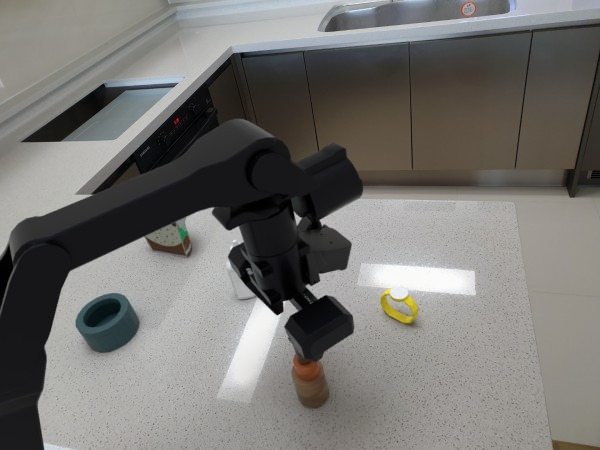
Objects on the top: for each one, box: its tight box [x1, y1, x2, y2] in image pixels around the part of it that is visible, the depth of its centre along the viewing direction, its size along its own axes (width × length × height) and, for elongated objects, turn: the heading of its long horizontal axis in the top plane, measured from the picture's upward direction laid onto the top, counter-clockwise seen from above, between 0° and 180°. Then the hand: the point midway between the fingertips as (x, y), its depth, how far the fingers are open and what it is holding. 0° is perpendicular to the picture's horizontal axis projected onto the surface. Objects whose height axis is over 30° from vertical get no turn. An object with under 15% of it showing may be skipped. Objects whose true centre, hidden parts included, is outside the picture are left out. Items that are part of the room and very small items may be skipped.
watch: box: [379, 285, 419, 325], centre depth 71 cm, size 6×3×6 cm, turn 50°
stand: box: [291, 360, 330, 409], centre depth 63 cm, size 4×4×6 cm
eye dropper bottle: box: [225, 239, 257, 300], centre depth 80 cm, size 4×6×12 cm
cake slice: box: [144, 217, 193, 259], centre depth 95 cm, size 12×6×10 cm, turn 66°
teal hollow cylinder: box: [75, 292, 140, 353], centre depth 80 cm, size 9×9×5 cm
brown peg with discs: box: [292, 345, 320, 380], centre depth 59 cm, size 3×3×8 cm
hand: (297, 334), depth 57 cm, fingers open, 9 cm apart
